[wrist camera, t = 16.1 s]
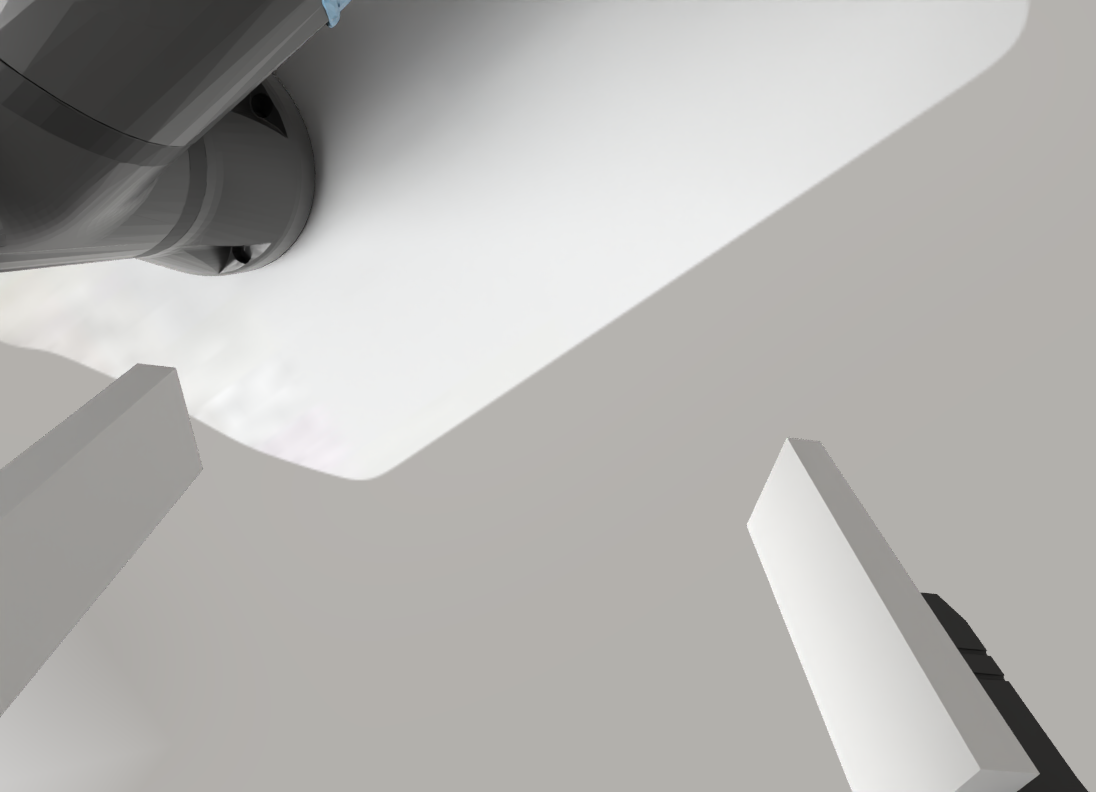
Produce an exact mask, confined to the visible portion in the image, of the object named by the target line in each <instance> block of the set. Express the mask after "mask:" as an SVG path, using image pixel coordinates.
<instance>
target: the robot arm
mask: <svg viewBox="0 0 1096 792" xmlns="http://www.w3.org/2000/svg"><path fill="white" fill-rule="evenodd" d="M350 1H351V0H0V273H1V272H11V271H20V270H29V269H38V268H47V267H56V266H66V265H75V264H84V263H93V262H102V261H112V260H120V259H128V258H136V259H140V260H143V261H146V262H150V263H153V264H156V265H160V266H163V267H167V268H170V269H173V270H177V271H180V272H184V273H188V274H193V275H202V276H223V275H230V274H236V273H242V272H247V271H251V270H255V269H258V268H261V267H263V266H265V265H267V264H269V263H271V262H272V261H274V260H276V259H277V258H278V257H280V256H281V255H282V254H283V253H285V252H286V251H287V250H288V249H289V248H290V247H291V245H292V244H293V243H294V242H295V240H296V239H297V238H298V236H299V235H300V233H301V231H302V229H303V228H304V225H305V223H306V221H307V218H308V216H309V213H310V210H311V206H312V201H313V196H314V188H315V167H314V158H313V152H312V147H311V143H310V139H309V136H308V133H307V130H306V127H305V124H304V122H303V119H302V117H301V115H300V113H299V111H298V109H297V107H296V105H295V104H294V102H293V100H292V99H291V97H290V96H289V94H288V93H287V91H286V90H285V89H284V87H283V86H282V85H281V83H280V82H279V81H278V80H277V79H276V77H275V76H274V75H273V74H272V72H273V71H274V70H276V69H277V68H278V67H279V66H280V65H281V64H282V63H283V62H284V61H285V60H287V59H288V58H289V57H290V56H291V55H292V54H293V53H294V52H295V51H296V50H298V49H299V48H300V47H301V46H302V45H303V44H304V43H305V42H306V41H307V40H308V39H310V38H311V37H312V36H313V35H314V34H315V33H316V32H317V31H318V30H319V29H321V28H322V27H323V26H324V25H325V24H326V25H327V26H328V27H329V28H333V27H334V26H335V25H336V24H337V23H338V21H339V19H340V11H341V10H342V9H343V8H344V7H345V6H346V5H347V4H348V3H349V2H350ZM202 470H203V467H202V463H201V459H200V455H199V452H198V448H197V444H196V441H195V437H194V433H193V430H192V426H191V422H190V418H189V415H188V411H187V407H186V404H185V400H184V396H183V393H182V389H181V385H180V381H179V378H178V374H177V370H176V368H173V367H164V366H155V365H146V364H138V363H137V364H136V365H135V366H134V367H132V368H131V369H130V370H128V371H127V372H126V373H125V374H123V375H122V376H121V377H119V378H118V379H117V380H116V381H114V382H113V383H112V384H111V385H109V386H108V387H107V388H105V389H104V390H103V391H101V392H100V393H99V394H97V395H96V396H95V397H94V398H93V399H91V400H90V401H88V402H87V403H86V404H85V405H83V406H82V407H81V408H79V409H78V410H77V411H76V412H74V413H73V414H72V415H70V416H69V417H68V418H67V419H65V420H64V421H63V422H62V423H60V424H59V425H58V426H56V427H55V428H54V429H52V430H51V431H50V432H48V433H47V434H46V435H45V436H43V437H42V438H41V439H39V440H38V441H37V442H36V443H34V444H33V445H32V446H30V447H29V448H28V449H27V450H25V451H24V452H23V453H22V454H20V455H19V456H18V457H16V458H15V459H14V460H13V461H11V462H10V463H9V464H7V465H6V466H5V467H4V468H2V469H1V470H0V717H1V716H2V714H3V713H4V712H5V711H6V710H7V708H8V707H9V706H10V705H11V703H12V702H13V701H14V700H15V699H16V697H17V696H18V695H19V694H20V692H21V691H22V690H23V689H24V688H25V686H26V685H27V684H28V683H29V681H30V680H31V679H32V678H33V677H34V675H35V674H36V673H37V672H38V670H39V669H40V668H41V666H42V665H43V664H44V663H45V662H46V661H47V659H48V658H49V657H50V656H51V655H52V653H53V652H54V651H55V650H56V648H57V647H58V646H59V645H60V644H61V642H62V641H63V640H64V639H65V637H66V636H67V635H68V634H69V633H70V631H71V630H72V629H73V628H74V626H75V625H76V624H77V623H78V622H79V620H80V619H81V618H82V617H83V615H84V614H85V613H86V612H87V611H88V609H89V608H90V607H91V606H92V604H93V603H94V602H95V601H96V599H97V598H98V597H99V596H100V595H101V593H102V592H103V591H104V590H105V589H106V587H107V586H108V585H109V584H110V582H111V581H112V580H113V579H114V578H115V576H116V575H117V574H118V573H119V571H120V570H121V569H122V568H123V567H124V565H125V564H126V563H127V562H128V560H129V559H130V558H131V557H132V555H133V554H134V553H135V552H136V551H137V549H138V548H139V547H140V546H141V545H142V543H143V542H144V541H145V540H146V538H147V537H148V536H149V535H150V534H151V532H152V531H153V530H154V529H155V527H156V526H157V525H158V524H159V522H160V521H161V520H162V519H163V518H164V516H165V515H166V514H167V513H168V511H169V510H170V509H171V508H172V507H173V505H174V504H175V503H176V502H177V500H178V499H179V498H180V497H181V496H182V494H183V493H184V492H185V491H186V490H187V488H188V487H189V486H190V485H191V483H192V482H193V481H194V480H195V479H196V477H197V476H198V475H199V474H200V472H201V471H202ZM747 527H748V530H749V532H750V535H751V537H752V540H753V542H754V545H755V547H756V550H757V552H758V555H759V558H760V560H761V563H762V565H763V568H764V570H765V573H766V575H767V578H768V580H769V583H770V585H771V588H772V590H773V593H774V596H775V598H776V601H777V603H778V606H779V608H780V611H781V613H782V616H783V618H784V621H785V623H786V626H787V628H788V631H789V633H790V635H791V638H792V641H793V643H794V646H795V649H796V651H797V654H798V656H799V659H800V661H801V664H802V666H803V669H804V671H805V674H806V676H807V679H808V681H809V684H810V686H811V689H812V692H813V694H814V696H815V699H816V702H817V704H818V707H819V709H820V712H821V714H822V717H823V719H824V722H825V724H826V727H827V729H828V732H829V734H830V737H831V739H832V742H833V745H834V747H835V750H836V752H837V754H838V757H839V760H840V762H841V765H842V767H843V770H844V772H845V775H846V777H847V780H848V782H849V785H850V788H851V790H852V792H1088V791H1087V790H1086V788H1085V787H1084V786H1083V785H1082V783H1081V782H1080V781H1079V780H1078V779H1077V777H1076V776H1075V774H1074V773H1073V771H1072V770H1071V769H1070V767H1069V766H1068V765H1067V763H1066V762H1065V760H1064V759H1063V758H1062V756H1061V755H1060V753H1059V752H1058V750H1057V749H1056V747H1055V746H1054V745H1053V743H1052V742H1051V740H1050V739H1049V738H1048V736H1047V735H1046V733H1045V732H1044V731H1043V729H1042V728H1041V727H1040V725H1039V723H1038V722H1037V721H1036V719H1035V718H1034V716H1033V715H1032V714H1031V712H1030V711H1029V709H1028V708H1027V707H1026V705H1025V704H1024V702H1023V701H1022V699H1021V698H1020V697H1019V695H1018V694H1017V692H1016V691H1015V690H1014V688H1013V687H1012V685H1011V684H1010V683H1009V681H1005V680H1004V674H1003V673H1002V671H1001V670H1000V668H999V667H998V666H997V664H996V663H995V661H994V660H993V658H992V657H991V656H987V654H986V649H985V648H984V646H983V644H982V643H981V642H980V640H979V639H978V637H977V636H976V635H975V633H974V632H973V630H972V629H971V627H970V626H969V625H968V623H967V622H966V620H964V619H963V618H962V617H961V616H960V615H959V614H958V613H957V612H956V611H955V610H954V609H952V608H951V607H950V606H949V605H948V604H947V603H946V602H945V601H944V600H943V599H941V598H940V597H939V596H938V595H937V594H929V593H920V592H919V590H918V589H917V587H916V586H915V584H914V583H913V581H912V580H911V578H910V577H909V575H908V573H907V572H906V571H905V569H904V568H903V566H902V564H901V563H900V561H899V560H898V558H897V557H896V555H895V554H894V552H893V551H892V549H891V548H890V547H889V545H888V543H887V542H886V540H885V539H884V537H883V536H882V534H881V533H880V531H879V530H878V528H877V527H876V525H875V524H874V522H873V521H872V519H871V518H870V516H869V515H868V513H867V512H866V510H865V509H864V507H863V505H862V504H861V503H860V501H859V499H858V498H857V496H856V495H855V493H854V492H853V491H852V489H851V487H850V486H849V484H848V483H847V481H846V480H845V478H844V477H843V475H842V474H841V472H840V471H839V469H838V468H837V466H836V465H835V463H834V462H833V460H832V459H831V457H830V456H829V454H828V453H827V451H826V450H825V448H824V446H823V445H822V443H821V442H820V441H813V440H804V439H796V438H786V441H785V443H784V445H783V447H782V449H781V451H780V454H779V456H778V458H777V460H776V462H775V465H774V467H773V469H772V471H771V473H770V475H769V478H768V480H767V482H766V484H765V486H764V489H763V491H762V493H761V495H760V497H759V500H758V502H757V504H756V506H755V508H754V510H753V513H752V515H751V517H750V519H749V521H748V524H747Z"/></svg>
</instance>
